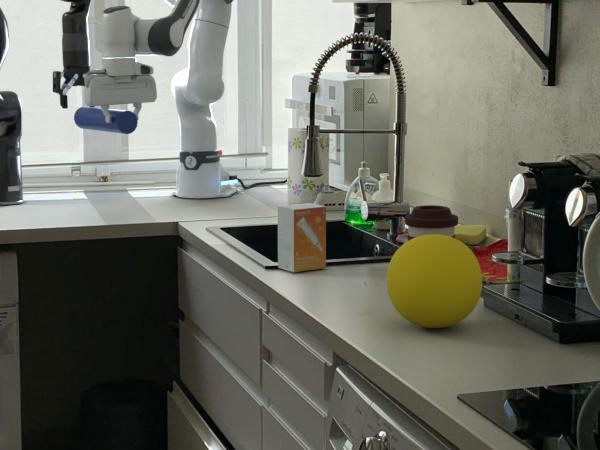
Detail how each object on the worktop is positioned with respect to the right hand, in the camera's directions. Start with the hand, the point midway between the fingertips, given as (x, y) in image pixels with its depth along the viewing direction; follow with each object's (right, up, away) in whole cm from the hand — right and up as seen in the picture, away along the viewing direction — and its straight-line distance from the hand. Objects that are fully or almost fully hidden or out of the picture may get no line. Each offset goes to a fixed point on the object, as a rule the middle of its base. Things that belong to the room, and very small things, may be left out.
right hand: (122, 121), depth 278 cm
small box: (+48, -37, -63) cm, 87 cm away
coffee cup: (+72, -39, -80) cm, 114 cm away
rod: (-6, -2, +8) cm, 10 cm away
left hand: (-15, +6, +18) cm, 24 cm away
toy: (+69, -44, -108) cm, 135 cm away
